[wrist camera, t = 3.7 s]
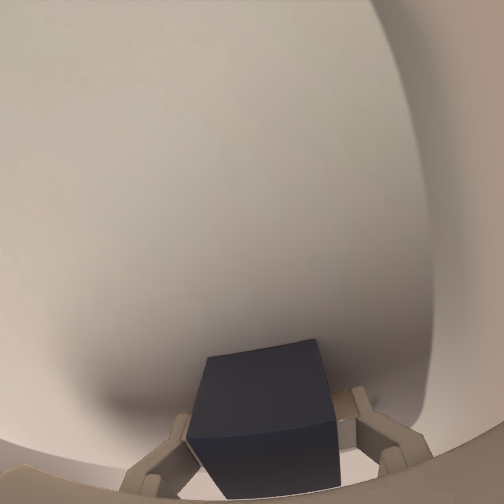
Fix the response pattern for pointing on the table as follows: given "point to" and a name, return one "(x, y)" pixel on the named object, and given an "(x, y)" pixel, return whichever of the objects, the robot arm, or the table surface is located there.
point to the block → (266, 423)
